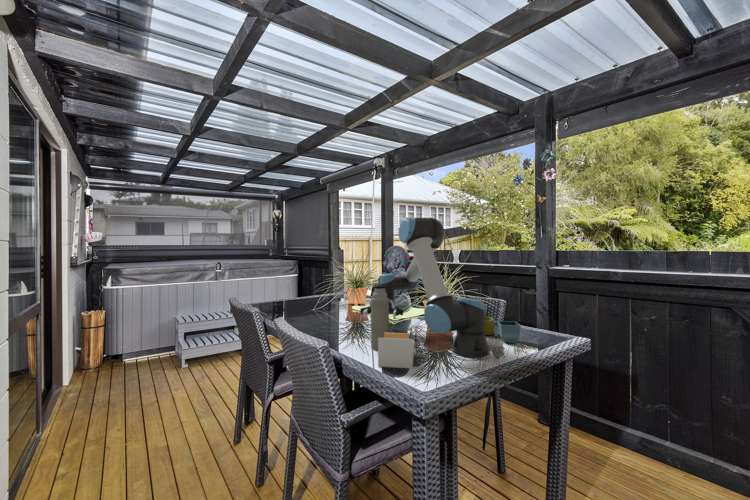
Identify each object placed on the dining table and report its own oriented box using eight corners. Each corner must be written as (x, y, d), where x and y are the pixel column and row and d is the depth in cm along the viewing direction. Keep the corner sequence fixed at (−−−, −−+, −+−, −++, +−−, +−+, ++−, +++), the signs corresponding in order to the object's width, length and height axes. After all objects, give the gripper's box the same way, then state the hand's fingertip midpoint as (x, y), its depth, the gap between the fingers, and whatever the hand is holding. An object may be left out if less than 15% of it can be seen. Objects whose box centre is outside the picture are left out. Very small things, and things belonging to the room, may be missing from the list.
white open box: (383, 352, 152) (383, 327, 151) (414, 354, 150) (414, 328, 150) (378, 366, 135) (378, 338, 135) (412, 368, 133) (412, 339, 133)
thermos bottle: (385, 344, 164) (385, 284, 163) (391, 349, 156) (391, 286, 155) (369, 346, 161) (368, 285, 161) (374, 351, 154) (373, 287, 153)
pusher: (384, 357, 142) (384, 332, 142) (409, 358, 141) (409, 333, 140) (383, 360, 139) (383, 334, 138) (409, 361, 137) (408, 335, 137)
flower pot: (497, 339, 172) (497, 320, 172) (516, 339, 171) (516, 321, 171) (501, 344, 163) (501, 324, 163) (520, 344, 162) (521, 325, 162)
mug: (493, 327, 187) (490, 311, 184) (498, 338, 177) (495, 321, 174) (470, 331, 189) (467, 315, 186) (473, 342, 179) (470, 325, 176)
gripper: (409, 314, 177) (407, 324, 156) (361, 313, 181) (351, 322, 160) (409, 299, 177) (406, 307, 156) (361, 298, 181) (351, 306, 160)
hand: (379, 315), depth 158 cm, fingers open, 13 cm apart
